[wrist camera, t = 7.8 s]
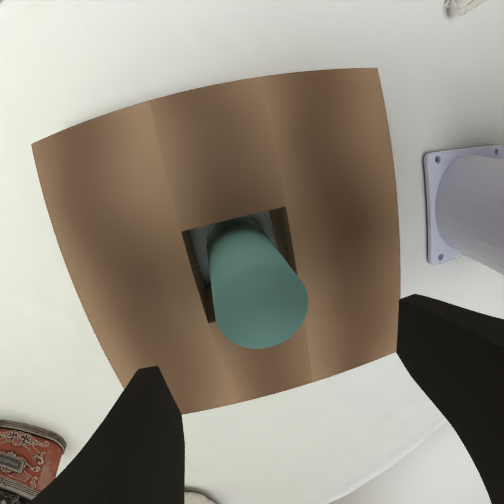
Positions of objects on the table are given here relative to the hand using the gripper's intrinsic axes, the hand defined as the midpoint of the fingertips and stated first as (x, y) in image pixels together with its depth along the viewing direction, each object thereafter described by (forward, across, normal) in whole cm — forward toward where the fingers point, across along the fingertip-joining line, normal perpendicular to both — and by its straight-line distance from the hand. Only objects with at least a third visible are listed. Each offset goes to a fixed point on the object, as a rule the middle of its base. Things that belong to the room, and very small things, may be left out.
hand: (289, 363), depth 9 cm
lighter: (+11, +23, +13) cm, 28 cm away
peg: (+10, 0, 0) cm, 10 cm away
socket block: (+10, 0, 0) cm, 10 cm away
